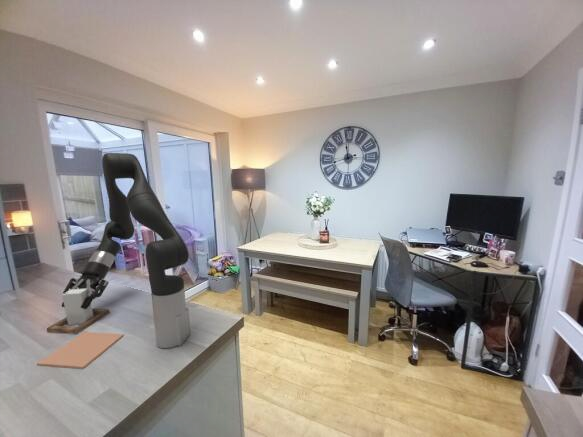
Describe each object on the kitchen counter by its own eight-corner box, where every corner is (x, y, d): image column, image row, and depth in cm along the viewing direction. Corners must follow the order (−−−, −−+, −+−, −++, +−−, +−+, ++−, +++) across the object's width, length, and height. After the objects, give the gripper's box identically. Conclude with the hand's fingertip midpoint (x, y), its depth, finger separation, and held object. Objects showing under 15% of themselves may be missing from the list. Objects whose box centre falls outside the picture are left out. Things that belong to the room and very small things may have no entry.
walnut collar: (109, 312, 92) (109, 309, 92) (76, 334, 79) (76, 329, 79) (83, 311, 93) (83, 308, 93) (47, 332, 80) (46, 328, 80)
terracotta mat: (123, 336, 78) (123, 334, 78) (83, 368, 64) (83, 366, 64) (85, 333, 79) (84, 331, 79) (37, 365, 66) (37, 363, 66)
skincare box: (94, 317, 89) (90, 287, 87) (86, 324, 84) (81, 292, 83) (75, 319, 88) (70, 288, 86) (66, 326, 83) (61, 294, 81)
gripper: (75, 260, 91) (46, 303, 81) (109, 261, 90) (84, 305, 80) (89, 268, 97) (64, 309, 87) (122, 269, 96) (100, 311, 86)
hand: (73, 307), depth 83 cm, fingers closed on skincare box, 6 cm apart
